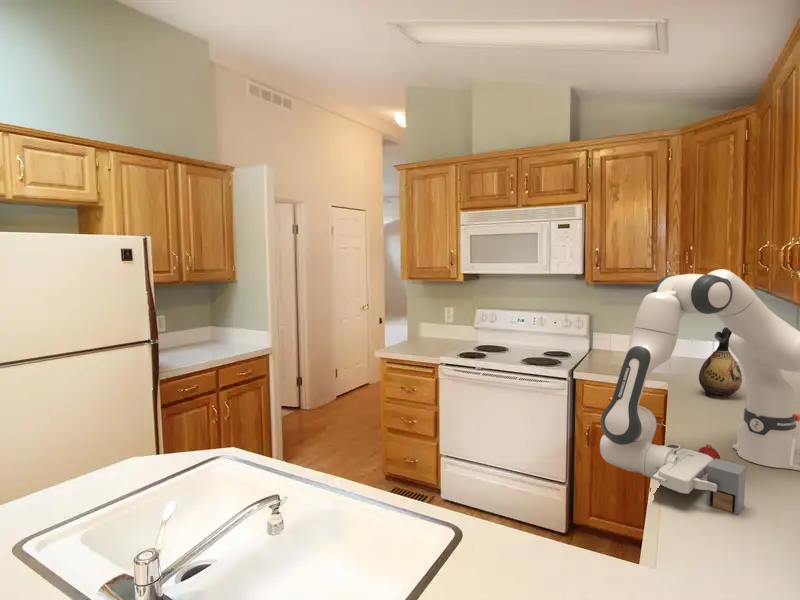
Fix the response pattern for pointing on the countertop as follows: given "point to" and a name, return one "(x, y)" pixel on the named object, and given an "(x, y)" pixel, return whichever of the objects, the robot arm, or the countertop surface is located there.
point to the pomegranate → (709, 451)
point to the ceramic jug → (720, 370)
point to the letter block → (724, 500)
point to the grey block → (727, 481)
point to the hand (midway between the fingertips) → (723, 481)
